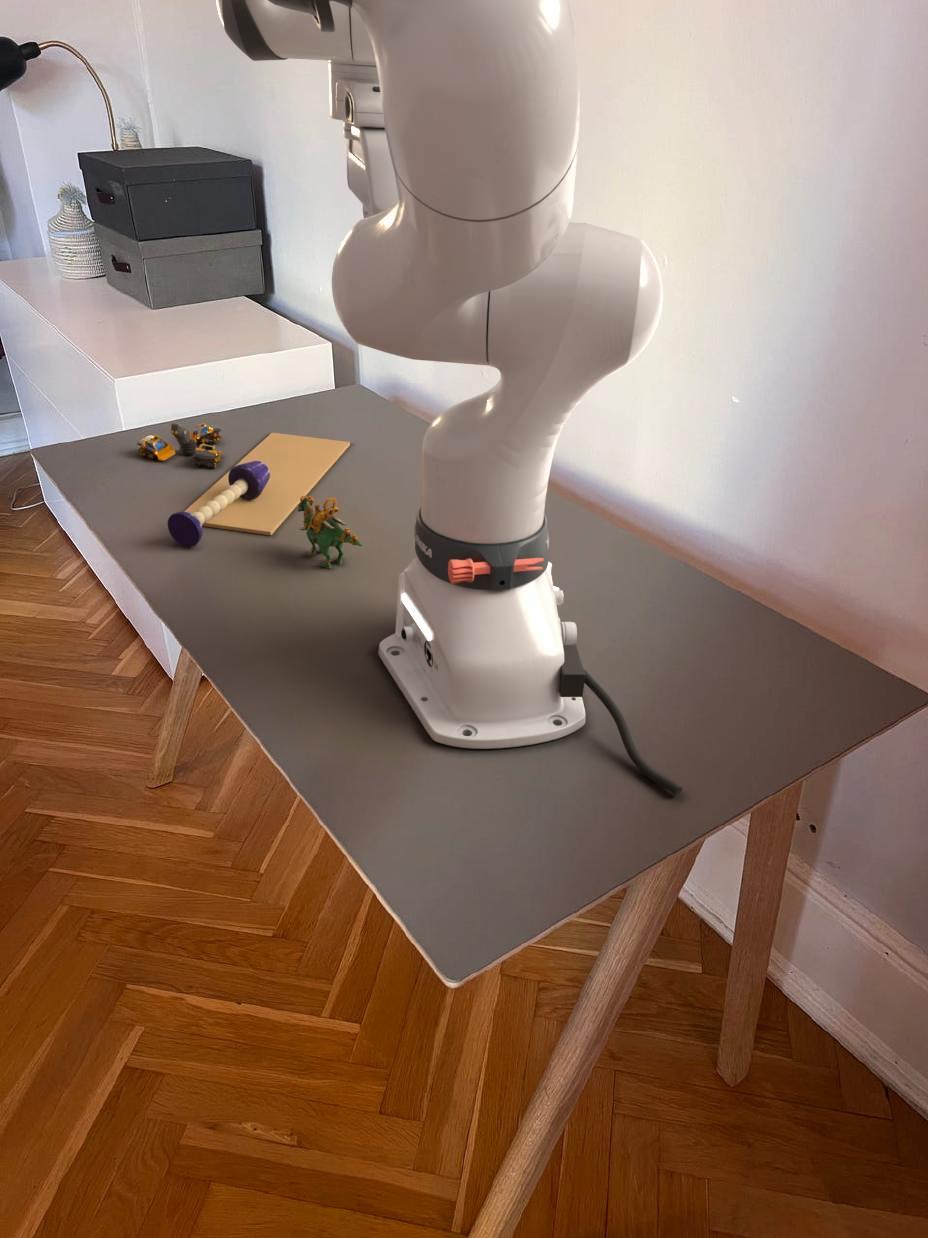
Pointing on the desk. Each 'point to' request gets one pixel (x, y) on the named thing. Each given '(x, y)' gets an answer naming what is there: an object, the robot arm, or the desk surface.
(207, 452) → the toy set
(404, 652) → the robot arm
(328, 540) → the figurine
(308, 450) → the wooden board
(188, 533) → the toy lamp
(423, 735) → the desk surface
